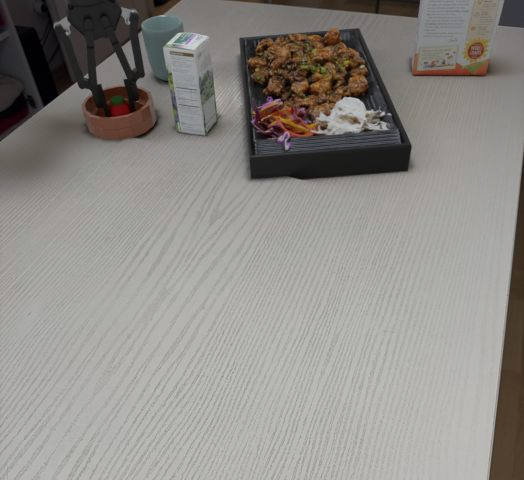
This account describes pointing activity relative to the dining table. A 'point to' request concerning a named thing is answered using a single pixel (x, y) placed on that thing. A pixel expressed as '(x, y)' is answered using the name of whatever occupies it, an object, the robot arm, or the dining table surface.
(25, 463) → the dining table surface
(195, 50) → the syrup box
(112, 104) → the strawberry
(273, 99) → the food platter
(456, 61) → the cracker box
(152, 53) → the cup
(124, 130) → the bowl
